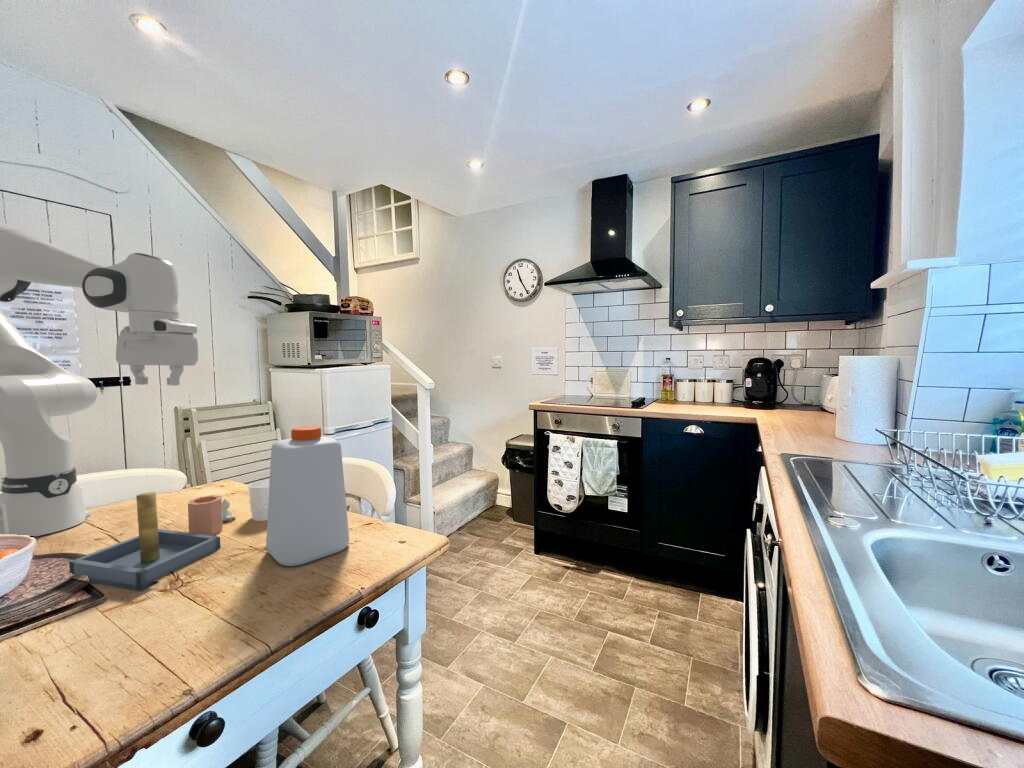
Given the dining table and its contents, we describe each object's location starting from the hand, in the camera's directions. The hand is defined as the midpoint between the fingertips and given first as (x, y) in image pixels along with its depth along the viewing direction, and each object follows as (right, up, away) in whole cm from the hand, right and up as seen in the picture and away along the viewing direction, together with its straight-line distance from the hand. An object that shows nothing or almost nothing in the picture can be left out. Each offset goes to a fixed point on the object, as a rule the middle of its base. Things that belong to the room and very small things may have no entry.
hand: (157, 385), depth 95 cm
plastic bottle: (+37, -38, -2) cm, 53 cm away
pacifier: (+6, -37, +12) cm, 39 cm away
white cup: (+17, -37, +15) cm, 43 cm away
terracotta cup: (+8, -37, +4) cm, 38 cm away
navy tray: (+7, -38, -10) cm, 40 cm away
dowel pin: (+7, -37, -10) cm, 39 cm away
